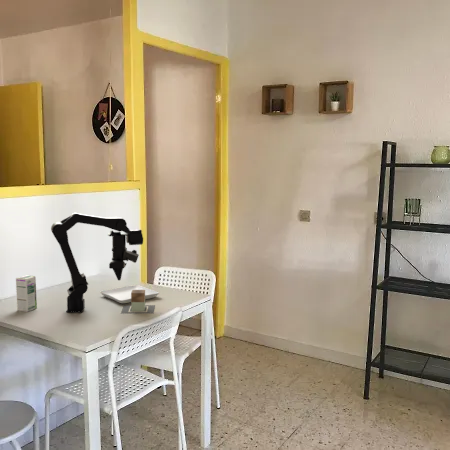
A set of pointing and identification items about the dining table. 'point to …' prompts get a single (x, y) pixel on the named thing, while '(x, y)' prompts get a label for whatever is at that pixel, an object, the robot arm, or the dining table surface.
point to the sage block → (137, 306)
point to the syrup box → (26, 293)
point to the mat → (148, 310)
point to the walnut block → (138, 296)
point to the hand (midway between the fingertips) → (119, 280)
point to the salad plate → (127, 293)
